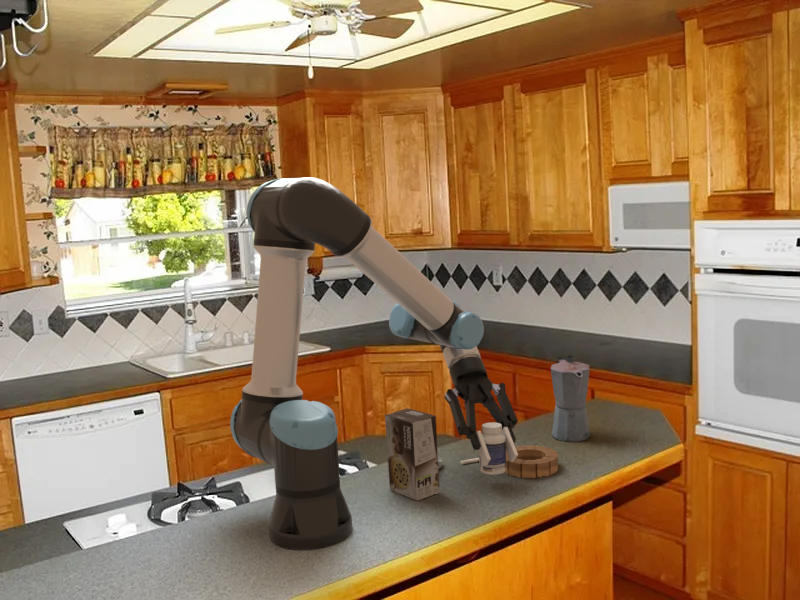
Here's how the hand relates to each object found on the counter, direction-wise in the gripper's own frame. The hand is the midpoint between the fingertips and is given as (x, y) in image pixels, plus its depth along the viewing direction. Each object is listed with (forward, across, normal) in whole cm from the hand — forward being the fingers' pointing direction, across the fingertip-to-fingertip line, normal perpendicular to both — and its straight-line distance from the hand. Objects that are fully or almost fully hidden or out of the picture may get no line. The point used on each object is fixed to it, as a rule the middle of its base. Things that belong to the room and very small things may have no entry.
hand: (500, 460), depth 166 cm
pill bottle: (0, 0, -5) cm, 5 cm away
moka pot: (-13, -30, -21) cm, 39 cm away
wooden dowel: (-8, -7, -17) cm, 20 cm away
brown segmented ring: (-2, -11, -10) cm, 15 cm away
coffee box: (-1, +16, -10) cm, 19 cm away
